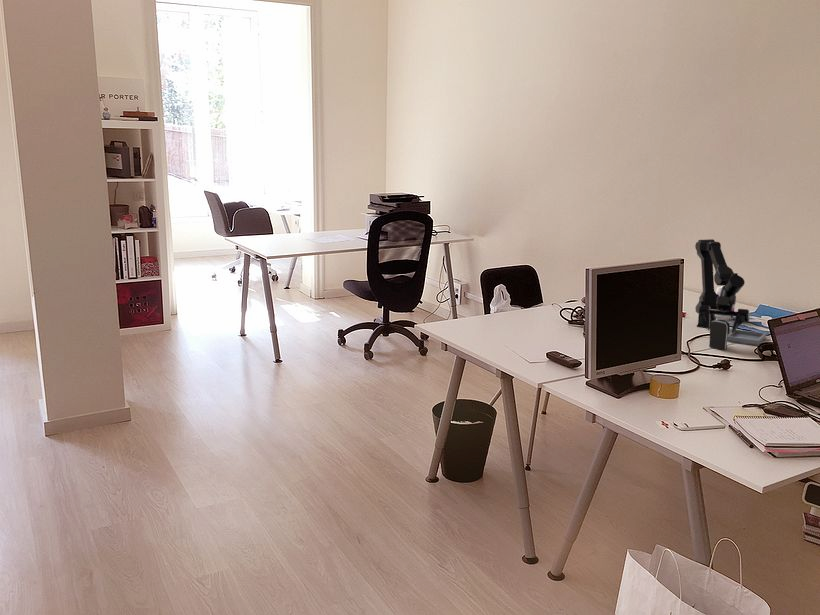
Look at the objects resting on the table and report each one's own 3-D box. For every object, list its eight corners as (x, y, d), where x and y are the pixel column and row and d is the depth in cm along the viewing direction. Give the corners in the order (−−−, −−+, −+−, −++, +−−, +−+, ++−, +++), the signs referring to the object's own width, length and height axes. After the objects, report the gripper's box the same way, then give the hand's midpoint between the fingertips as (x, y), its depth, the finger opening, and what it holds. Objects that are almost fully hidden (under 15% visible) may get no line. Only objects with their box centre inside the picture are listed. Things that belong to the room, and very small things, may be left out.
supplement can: (734, 317, 325) (737, 286, 321) (732, 321, 318) (734, 289, 315) (716, 315, 329) (718, 284, 326) (713, 319, 323) (715, 288, 319)
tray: (725, 341, 290) (726, 336, 290) (734, 334, 299) (734, 329, 299) (758, 345, 282) (758, 340, 282) (765, 338, 292) (765, 333, 291)
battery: (729, 348, 280) (731, 321, 278) (724, 350, 278) (726, 323, 275) (713, 345, 286) (715, 318, 283) (708, 347, 284) (710, 320, 281)
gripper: (701, 286, 285) (693, 318, 279) (750, 289, 275) (743, 323, 269) (704, 300, 293) (696, 332, 287) (752, 304, 283) (745, 337, 277)
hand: (720, 330), depth 280 cm, fingers open, 9 cm apart
